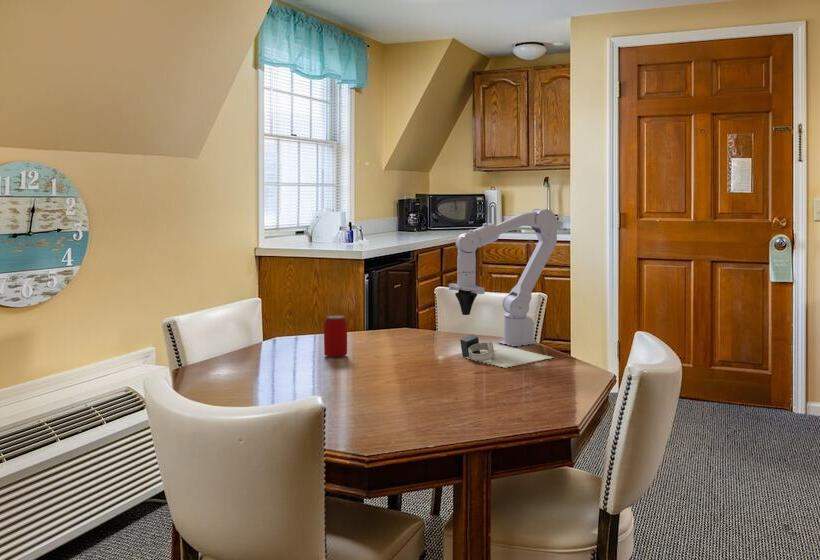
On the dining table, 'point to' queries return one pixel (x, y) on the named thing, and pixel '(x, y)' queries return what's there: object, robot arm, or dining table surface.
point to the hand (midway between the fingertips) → (466, 314)
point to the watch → (476, 348)
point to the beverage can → (335, 336)
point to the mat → (514, 358)
